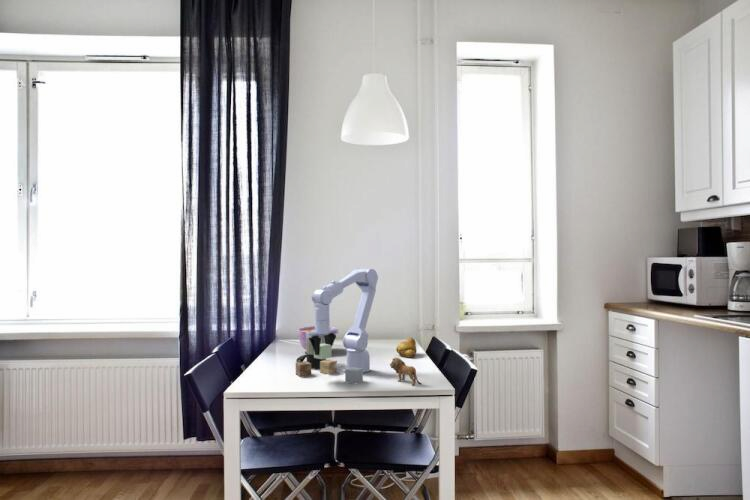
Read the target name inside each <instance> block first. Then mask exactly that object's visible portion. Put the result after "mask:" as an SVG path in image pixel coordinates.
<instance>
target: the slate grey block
mask: <svg viewBox="0 0 750 500" xmlns="http://www.w3.org/2000/svg"><path fill="white" fill-rule="evenodd" d="M344 370H345V373H344V374H345V378H344V379H345V383H346V382H348V384H354V383H357V384H359V383H362V382H363V379H364V377H363V376H364V372H363V368H354V367H351V368H349V369H347V368H346V369H344ZM361 381H362V382H361Z"/></svg>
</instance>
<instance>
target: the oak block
mask: <svg viewBox="0 0 750 500" xmlns="http://www.w3.org/2000/svg"><path fill="white" fill-rule="evenodd" d="M337 364H338V360H334V359H331V358H327V359H326V360H323V361H320V369H319V373H320V374H324V375H333V374H336V373H338V365H337Z"/></svg>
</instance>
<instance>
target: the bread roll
mask: <svg viewBox="0 0 750 500" xmlns="http://www.w3.org/2000/svg"><path fill="white" fill-rule="evenodd" d="M416 343H417V342H416V340H415V339H414V338H413V337H409V338H408V339H406V340H404V341H401V342H398V344H397V345H396V349H395V350H396V353H397V354H399V356H400V357H406V358H413V357H415V355H416V354H417V344H416Z"/></svg>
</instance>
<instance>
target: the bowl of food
mask: <svg viewBox="0 0 750 500" xmlns="http://www.w3.org/2000/svg"><path fill="white" fill-rule="evenodd" d="M334 328H336V329H338V328H337V327H334V326H330V329H334ZM311 331H315V325H314V326H303V327H299V328H297V334H298V338H299V343H300V345H301V347H302V348H303V350H305V351H307V350H306V332H311ZM334 335H336V336H337V334H334ZM334 344H335V341H334V342H333V344H332V346H334Z"/></svg>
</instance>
